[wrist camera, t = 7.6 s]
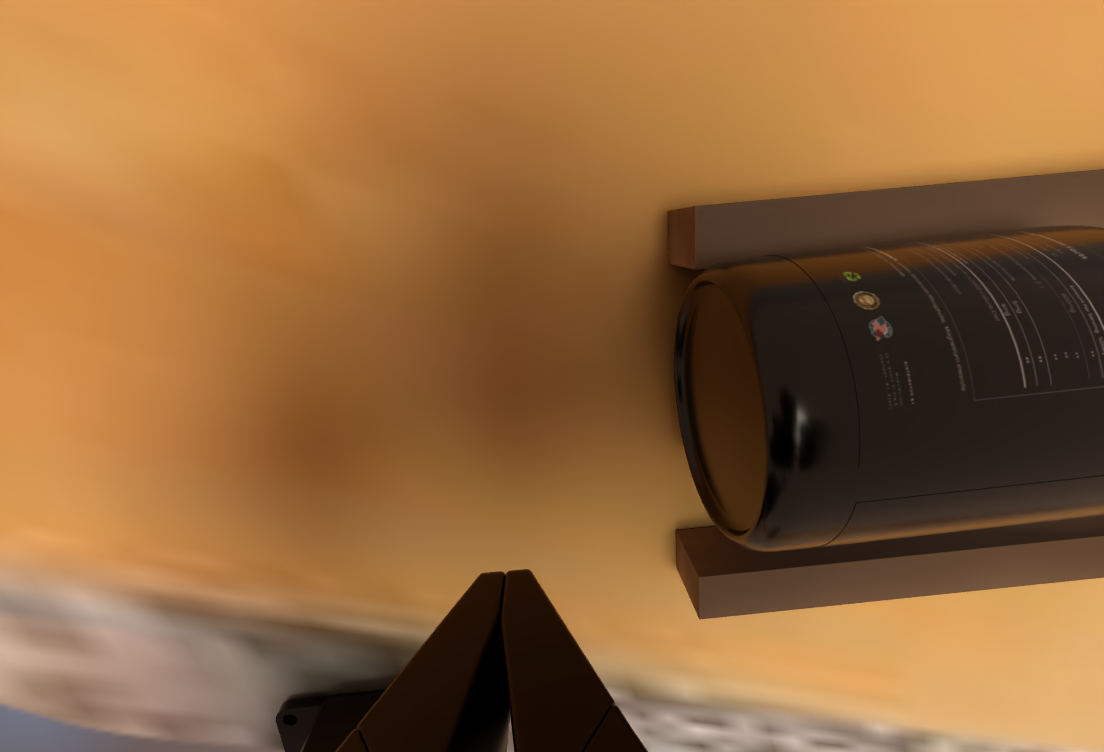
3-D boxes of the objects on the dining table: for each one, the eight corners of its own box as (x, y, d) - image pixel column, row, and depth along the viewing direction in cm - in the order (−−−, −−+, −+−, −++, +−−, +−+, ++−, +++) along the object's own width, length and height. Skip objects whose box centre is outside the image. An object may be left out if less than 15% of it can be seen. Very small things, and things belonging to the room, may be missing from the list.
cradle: (1135, 521, 18) (1297, 597, 14) (676, 567, 18) (716, 658, 14) (1224, 160, 15) (1466, 134, 11) (667, 211, 15) (716, 202, 11)
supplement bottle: (657, 367, 17) (1010, 335, 17) (711, 585, 13) (1163, 539, 13) (701, 190, 11) (1229, 145, 11) (819, 486, 7) (1604, 408, 8)
